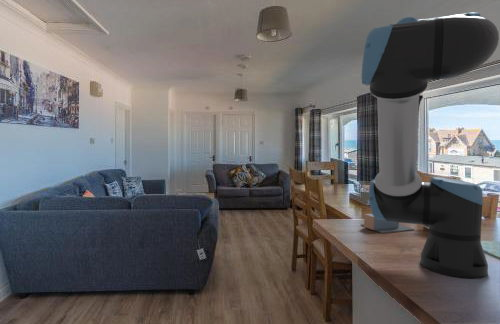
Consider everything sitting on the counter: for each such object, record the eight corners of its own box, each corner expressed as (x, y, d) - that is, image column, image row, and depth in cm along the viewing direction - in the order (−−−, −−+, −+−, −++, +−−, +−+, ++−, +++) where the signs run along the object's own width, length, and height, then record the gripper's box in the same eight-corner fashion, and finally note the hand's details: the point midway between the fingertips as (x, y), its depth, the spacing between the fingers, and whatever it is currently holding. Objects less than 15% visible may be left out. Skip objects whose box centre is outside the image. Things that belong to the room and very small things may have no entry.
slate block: (373, 216, 123) (399, 214, 126) (364, 214, 127) (389, 212, 131) (372, 230, 123) (398, 227, 127) (364, 226, 128) (389, 224, 131)
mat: (382, 233, 120) (382, 232, 120) (360, 225, 131) (360, 224, 131) (414, 230, 125) (414, 229, 125) (390, 222, 136) (391, 221, 136)
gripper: (412, 77, 115) (410, 144, 116) (382, 74, 111) (380, 144, 112) (430, 72, 108) (427, 144, 109) (399, 69, 104) (396, 144, 105)
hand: (403, 144), depth 111 cm, fingers closed
